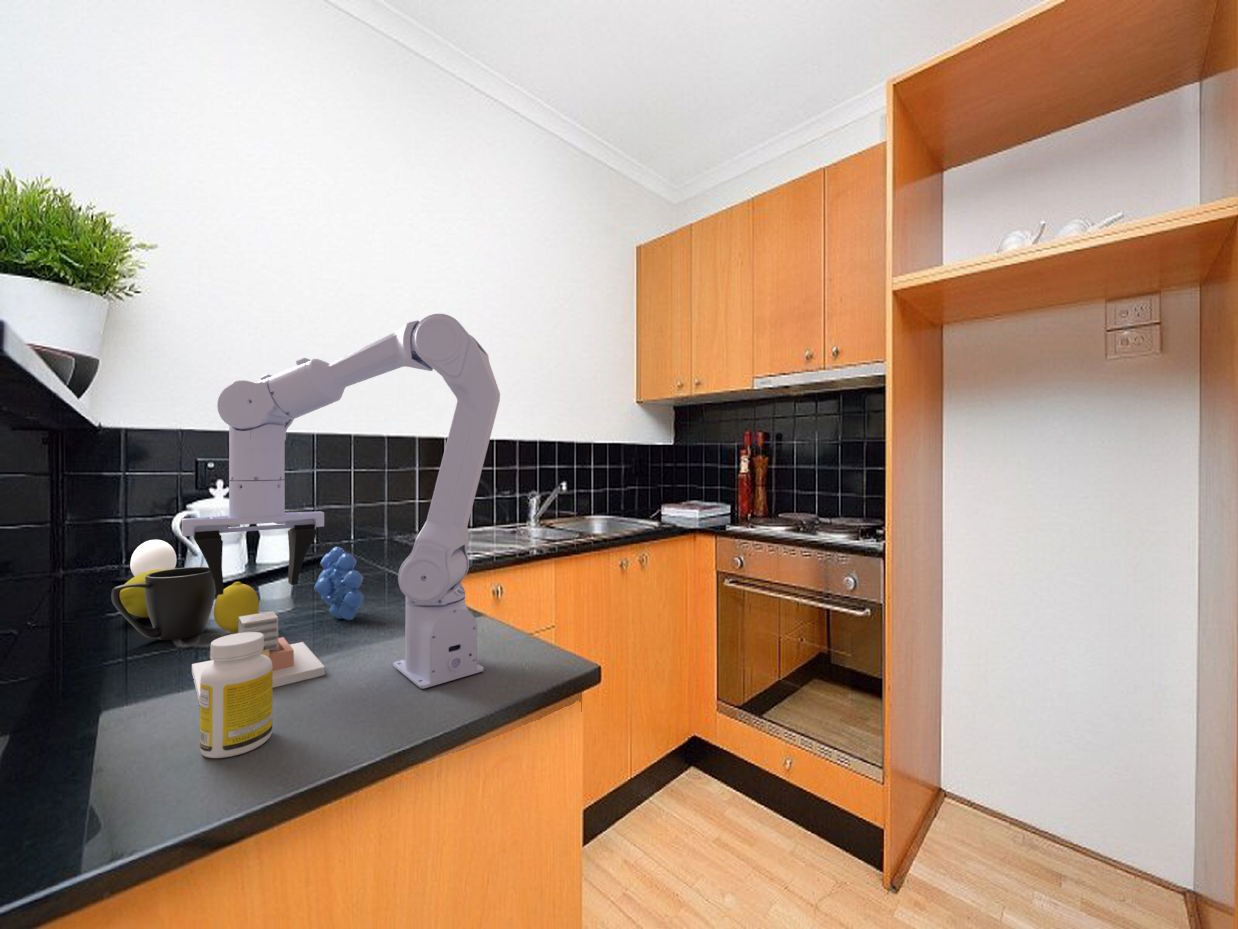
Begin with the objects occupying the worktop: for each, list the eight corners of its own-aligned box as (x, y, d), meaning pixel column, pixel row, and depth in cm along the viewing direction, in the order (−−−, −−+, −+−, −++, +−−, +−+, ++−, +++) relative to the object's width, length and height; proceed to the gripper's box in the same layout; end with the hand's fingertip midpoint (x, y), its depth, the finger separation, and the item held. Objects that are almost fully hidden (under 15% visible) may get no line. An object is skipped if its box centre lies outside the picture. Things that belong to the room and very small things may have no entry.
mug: (100, 645, 73) (100, 578, 73) (201, 623, 84) (201, 564, 84) (122, 656, 69) (123, 585, 69) (225, 631, 80) (226, 569, 80)
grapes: (296, 618, 86) (296, 547, 86) (337, 609, 92) (338, 542, 92) (331, 632, 80) (331, 554, 80) (373, 621, 85) (373, 548, 85)
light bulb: (133, 594, 102) (133, 539, 102) (177, 589, 106) (178, 536, 106) (127, 602, 96) (127, 543, 96) (174, 596, 100) (175, 540, 100)
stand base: (324, 674, 63) (324, 645, 63) (199, 705, 55) (199, 671, 55) (302, 649, 72) (302, 623, 72) (191, 672, 64) (191, 643, 64)
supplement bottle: (285, 728, 50) (285, 628, 51) (246, 760, 45) (247, 648, 45) (228, 729, 50) (229, 629, 50) (183, 761, 45) (184, 649, 45)
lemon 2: (234, 641, 75) (235, 587, 75) (203, 638, 76) (204, 585, 76) (267, 629, 80) (268, 578, 80) (238, 627, 82) (238, 577, 82)
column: (278, 664, 63) (278, 617, 63) (242, 672, 61) (242, 623, 61) (272, 656, 66) (272, 611, 66) (238, 663, 64) (238, 616, 64)
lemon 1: (183, 606, 94) (184, 562, 94) (204, 612, 90) (204, 566, 90) (102, 622, 84) (102, 573, 84) (121, 629, 80) (121, 578, 80)
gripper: (315, 478, 73) (315, 574, 73) (180, 480, 63) (180, 591, 63) (328, 479, 67) (328, 583, 67) (183, 482, 58) (183, 603, 58)
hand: (257, 588), depth 65 cm, fingers open, 7 cm apart
